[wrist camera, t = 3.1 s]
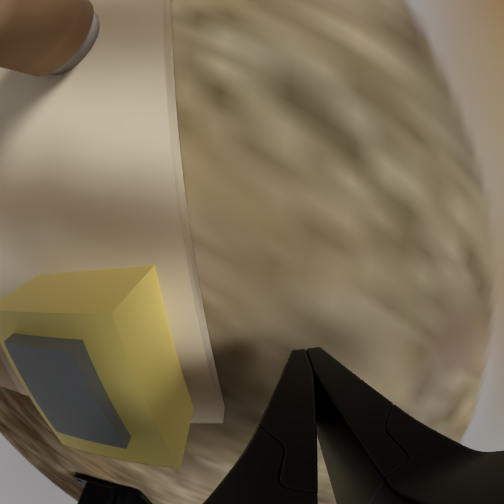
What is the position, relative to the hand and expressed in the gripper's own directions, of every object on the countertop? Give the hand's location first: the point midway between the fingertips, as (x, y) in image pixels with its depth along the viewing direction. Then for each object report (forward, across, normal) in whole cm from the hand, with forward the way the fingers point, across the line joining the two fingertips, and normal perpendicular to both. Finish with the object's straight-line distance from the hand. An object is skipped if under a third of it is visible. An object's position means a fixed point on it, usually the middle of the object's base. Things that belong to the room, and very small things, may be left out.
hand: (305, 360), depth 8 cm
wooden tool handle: (+1, +7, -11) cm, 13 cm away
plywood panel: (+2, +13, -5) cm, 14 cm away
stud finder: (+1, +7, 0) cm, 7 cm away
